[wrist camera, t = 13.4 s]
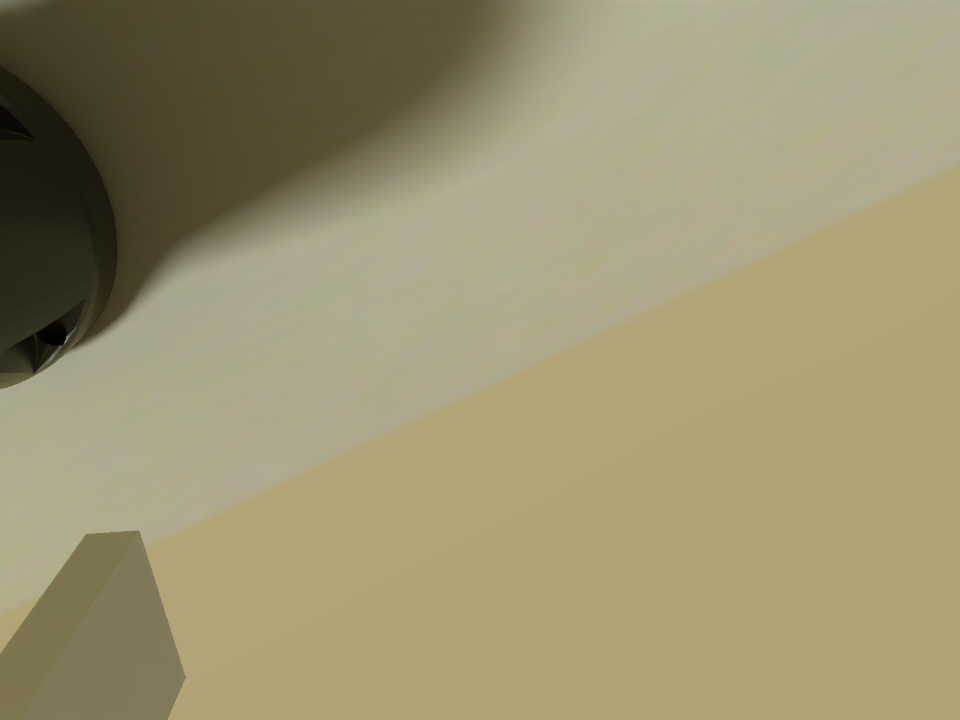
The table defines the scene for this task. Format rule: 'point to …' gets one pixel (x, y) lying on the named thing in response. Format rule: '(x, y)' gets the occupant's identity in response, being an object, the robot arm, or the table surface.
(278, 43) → the table surface
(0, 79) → the robot arm
